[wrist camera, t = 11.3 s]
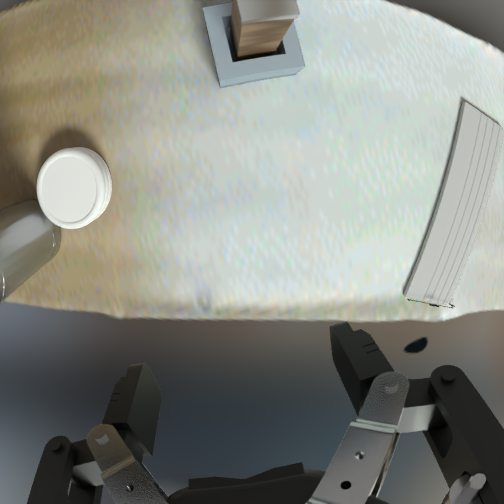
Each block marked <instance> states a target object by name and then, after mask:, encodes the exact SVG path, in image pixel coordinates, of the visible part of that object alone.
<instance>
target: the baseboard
mask: <svg viewBox="0 0 504 504" xmlns="http://www.w3.org/2000/svg"><path fill="white" fill-rule="evenodd" d="M503 137H504V130H503V128H502V127H501V126H499V125H498V124H497V123H496V122H494V121H492V120H491V119H490V118H489V117H487V116H485V115H484V114H483V113H481V112H480V111H478V110H477V109H476V108H474V107H473V106H471V105H470V104H468V103H467V102H462V106H461V111H460V116H459V121H458V126H457V131H456V135H455V140H454V144H453V148H452V152H451V156H450V160H449V164H448V168H447V171H446V175H445V179H444V182H443V185H442V189H441V192H440V196H439V199H438V202H437V205H436V208H435V211H434V215H433V218H432V221H431V224H430V226H429V229H428V232H427V235H426V238H425V241H424V243H423V246H422V249H421V251H420V254H419V257H418V259H417V262H416V264H415V267H414V269H413V272H412V274H411V277H410V279H409V282H408V284H407V286H406V289H405V291H404V294H403V295H404V296H405V297H408V298H413V299H419V300H423V301H430V302H435V303H440V304H444V305H446V304H449V303H450V301H451V299H452V296H453V294H454V292H455V290H456V287H457V285H458V283H459V280H460V278H461V276H462V273H463V271H464V268H465V266H466V263H467V261H468V258H469V256H470V253H471V250H472V248H473V245H474V242H475V239H476V237H477V234H478V231H479V228H480V225H481V222H482V219H483V216H484V213H485V209H486V206H487V203H488V199H489V196H490V192H491V189H492V185H493V181H494V177H495V173H496V169H497V165H498V161H499V156H500V152H501V147H502V142H503ZM407 300H409V299H407ZM409 301H410V300H409ZM412 301H414V300H412ZM417 302H419V301H417ZM423 303H425V302H423ZM428 304H429V305H430V306H431V305H432V304H430V303H428ZM450 305H451V304H450ZM432 306H436V307H439V306H441V305H439V306H438V305H435V304H433V305H432ZM451 306H452V305H451ZM444 307H446V306H444ZM452 307H453V306H452ZM452 307H449V308H452ZM454 307H455V306H454Z"/></svg>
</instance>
